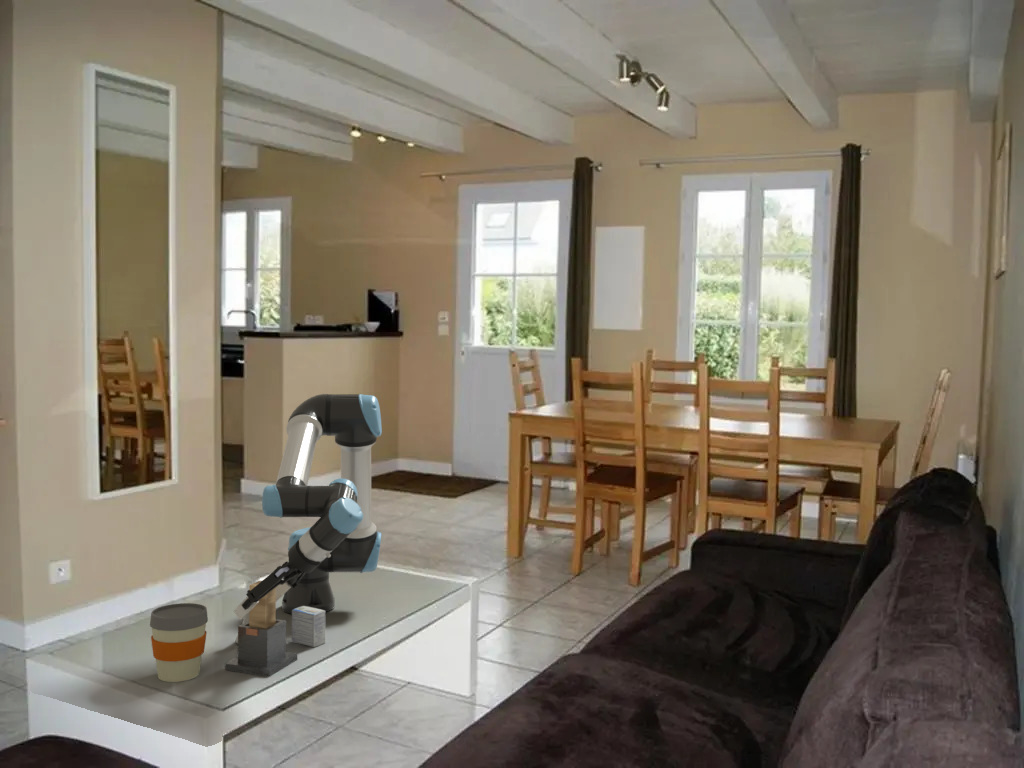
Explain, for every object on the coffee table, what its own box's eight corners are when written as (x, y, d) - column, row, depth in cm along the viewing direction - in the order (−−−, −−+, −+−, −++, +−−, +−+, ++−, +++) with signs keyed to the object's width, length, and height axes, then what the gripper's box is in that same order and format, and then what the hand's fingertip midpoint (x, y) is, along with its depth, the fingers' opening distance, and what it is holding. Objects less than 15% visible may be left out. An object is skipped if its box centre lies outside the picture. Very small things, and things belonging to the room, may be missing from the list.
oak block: (259, 653, 215) (259, 580, 215) (276, 656, 214) (276, 582, 213) (247, 660, 211) (248, 585, 210) (264, 662, 209) (265, 587, 209)
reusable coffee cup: (138, 682, 200) (138, 616, 199) (169, 663, 212) (169, 601, 212) (189, 687, 198) (189, 620, 197) (217, 667, 210) (218, 604, 210)
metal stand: (254, 653, 220) (255, 613, 220) (297, 659, 216) (297, 619, 216) (225, 669, 209) (225, 627, 208) (269, 676, 205) (270, 633, 205)
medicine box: (325, 643, 229) (326, 610, 229) (313, 648, 225) (314, 614, 225) (303, 637, 233) (303, 605, 233) (291, 642, 229) (291, 609, 229)
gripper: (291, 575, 195) (232, 634, 200) (346, 551, 219) (292, 605, 224) (270, 549, 196) (212, 609, 201) (327, 528, 220) (273, 582, 225)
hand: (254, 607), depth 213 cm, fingers open, 13 cm apart
